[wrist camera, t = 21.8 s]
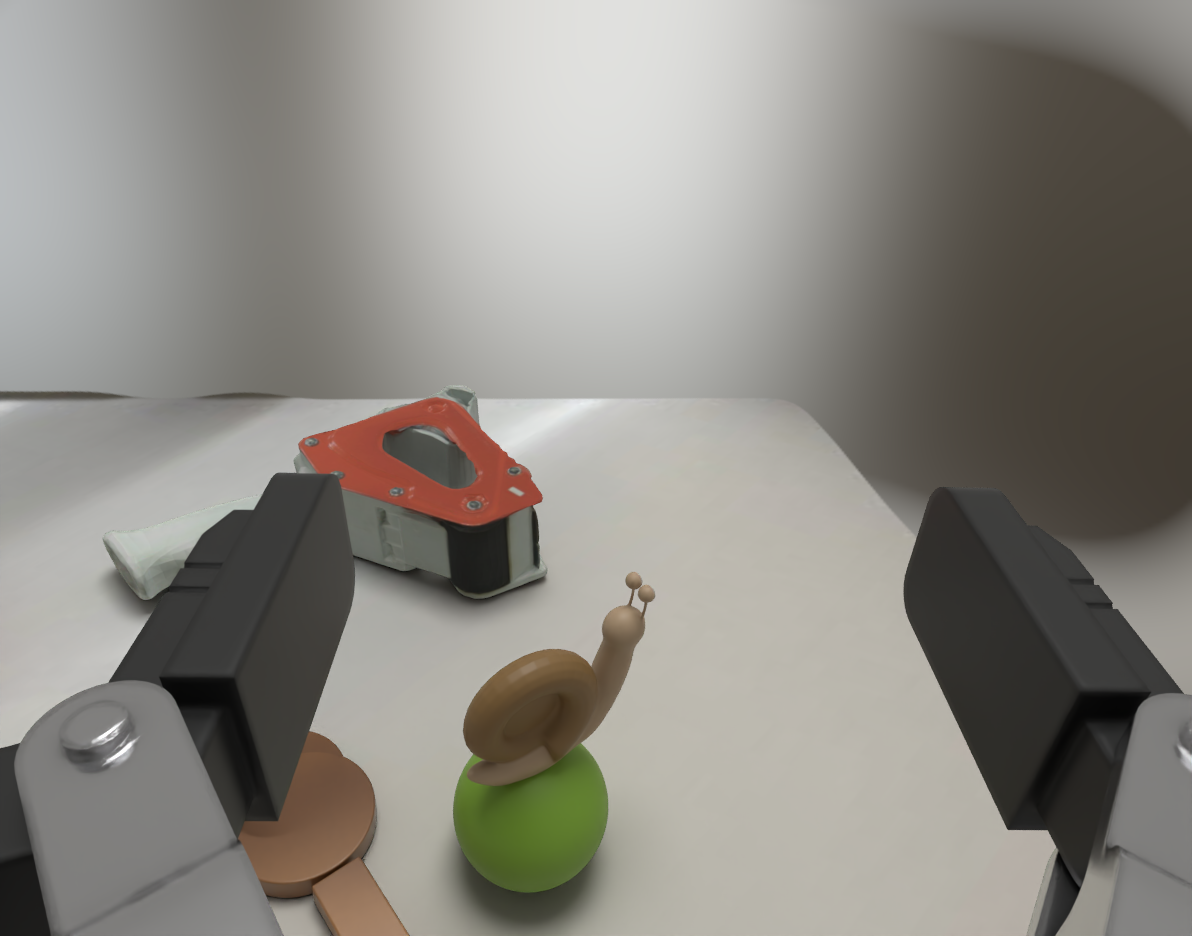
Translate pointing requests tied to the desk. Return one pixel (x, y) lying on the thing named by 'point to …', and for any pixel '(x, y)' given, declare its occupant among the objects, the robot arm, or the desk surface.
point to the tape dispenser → (392, 502)
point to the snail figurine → (542, 759)
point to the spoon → (324, 844)
